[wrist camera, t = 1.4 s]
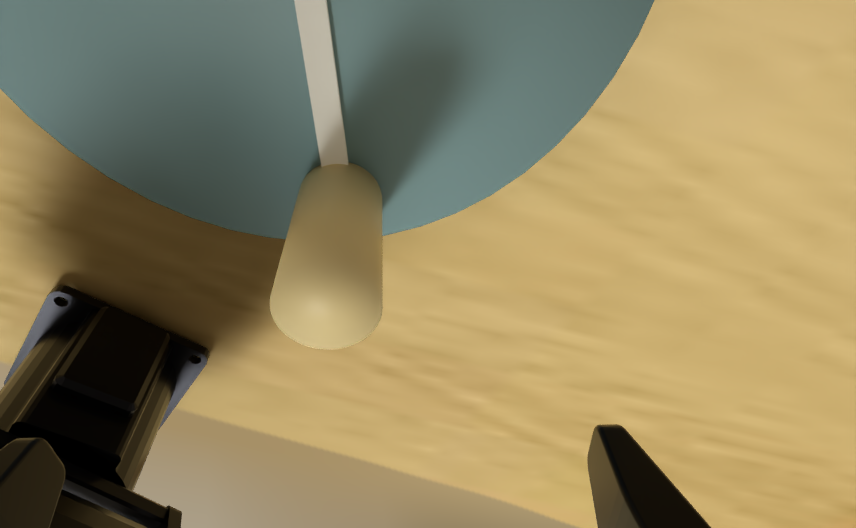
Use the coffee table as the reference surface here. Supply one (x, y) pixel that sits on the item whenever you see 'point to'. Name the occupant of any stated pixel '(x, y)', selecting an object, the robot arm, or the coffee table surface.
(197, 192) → the handwheel
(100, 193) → the coffee table surface
